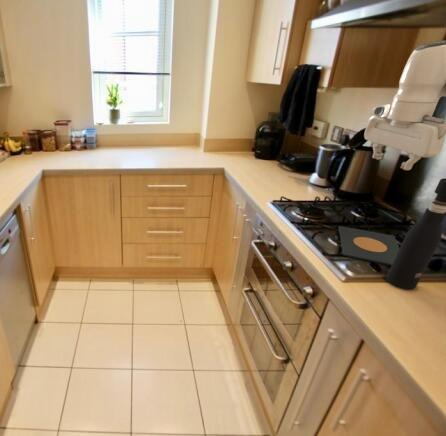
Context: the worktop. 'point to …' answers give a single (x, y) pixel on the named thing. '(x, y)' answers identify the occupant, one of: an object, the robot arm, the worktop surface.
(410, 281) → the wine bottle
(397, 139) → the robot arm
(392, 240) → the centre mat
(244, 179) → the worktop surface
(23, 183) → the worktop surface
